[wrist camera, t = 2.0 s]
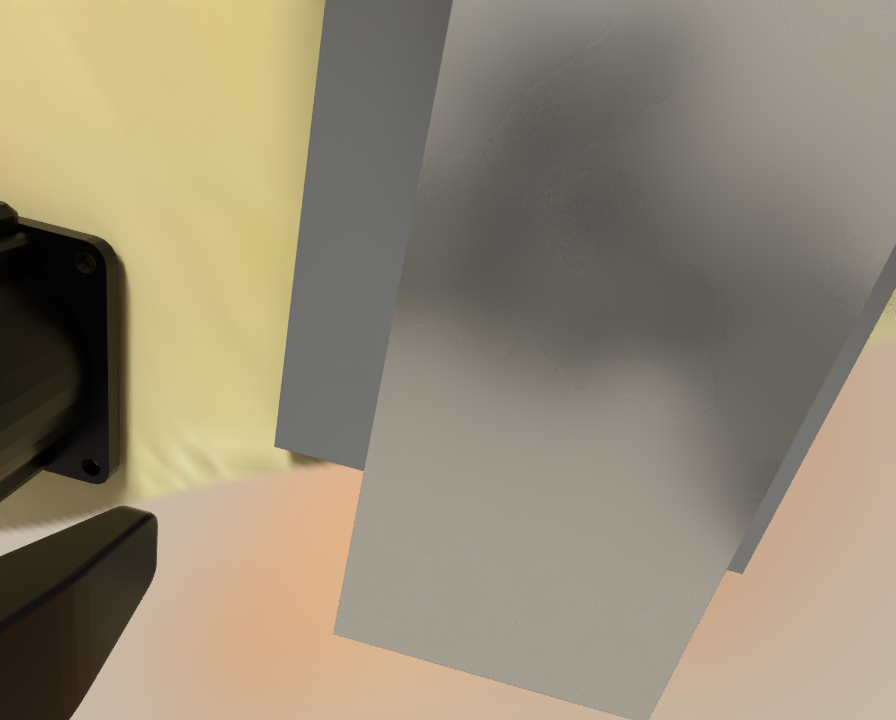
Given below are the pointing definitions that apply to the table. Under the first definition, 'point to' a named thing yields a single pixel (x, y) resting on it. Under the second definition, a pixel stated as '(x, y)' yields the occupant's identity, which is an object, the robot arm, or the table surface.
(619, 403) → the grey long block
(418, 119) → the board
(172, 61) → the table surface
